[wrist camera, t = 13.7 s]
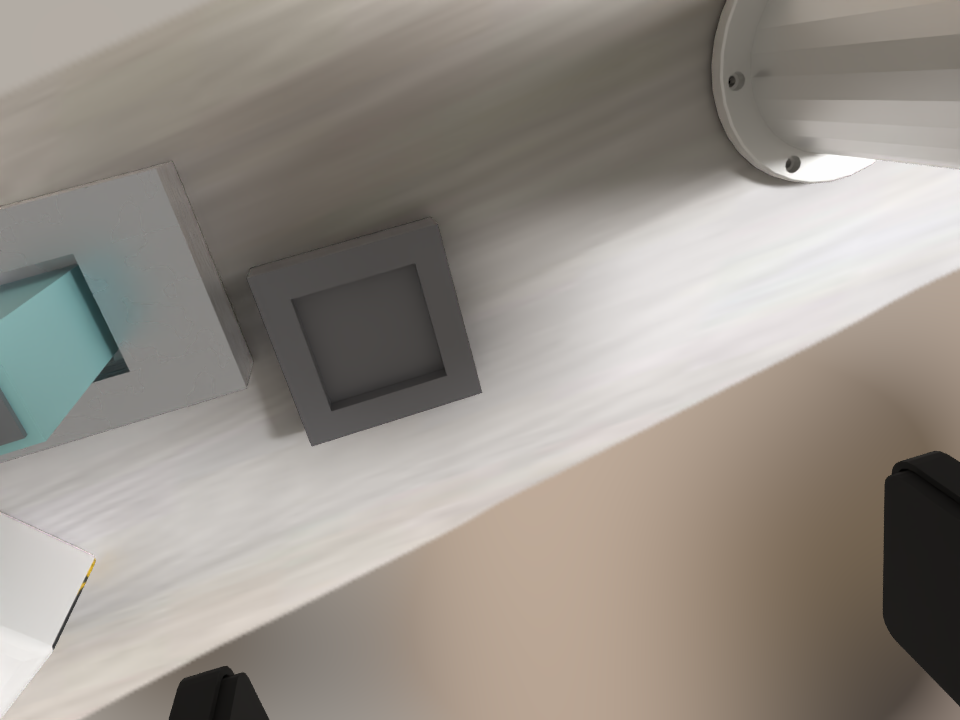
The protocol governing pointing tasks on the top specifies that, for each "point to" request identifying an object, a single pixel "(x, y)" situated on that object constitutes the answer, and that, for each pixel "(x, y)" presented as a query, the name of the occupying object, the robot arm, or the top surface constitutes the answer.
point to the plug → (47, 352)
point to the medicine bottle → (34, 600)
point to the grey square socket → (367, 329)
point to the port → (133, 295)
